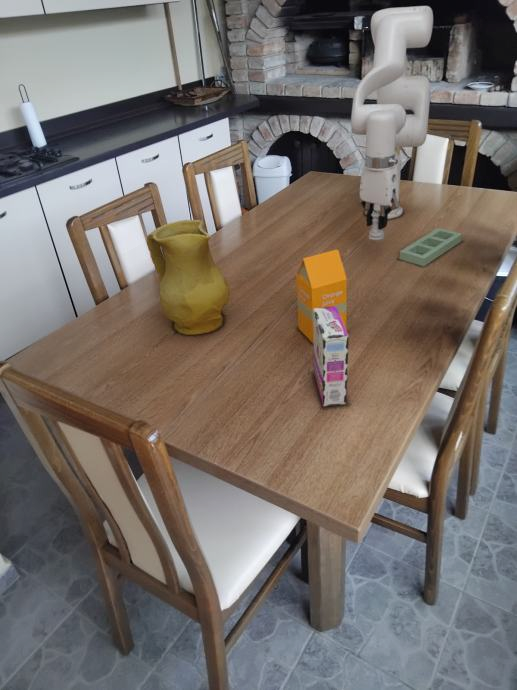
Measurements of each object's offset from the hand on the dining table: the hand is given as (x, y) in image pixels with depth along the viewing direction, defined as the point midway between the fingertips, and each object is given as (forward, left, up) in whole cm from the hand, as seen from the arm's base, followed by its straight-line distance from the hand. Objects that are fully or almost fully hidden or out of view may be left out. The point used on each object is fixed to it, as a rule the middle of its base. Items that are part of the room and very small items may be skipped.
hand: (376, 225), depth 154 cm
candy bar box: (+40, -49, -10) cm, 64 cm away
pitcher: (-2, -58, -10) cm, 59 cm away
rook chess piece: (0, 0, -4) cm, 4 cm away
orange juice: (+22, -37, -10) cm, 44 cm away
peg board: (+8, +15, -9) cm, 19 cm away
